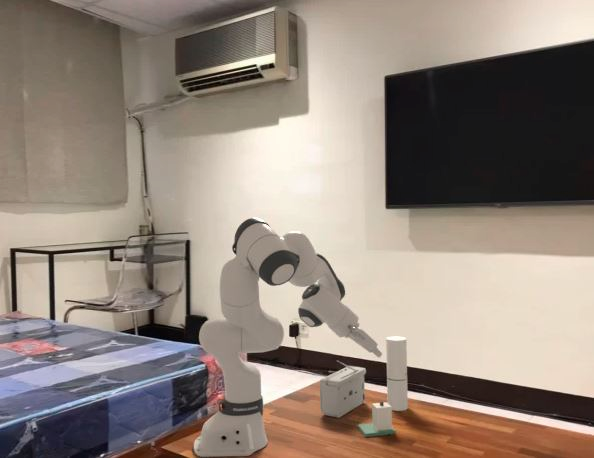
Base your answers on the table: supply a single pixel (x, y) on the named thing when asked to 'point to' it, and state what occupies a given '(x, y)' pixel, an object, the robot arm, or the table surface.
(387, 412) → the block
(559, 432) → the table surface
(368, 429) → the header board
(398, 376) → the cylindrical container
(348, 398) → the stereo radio cassette player
